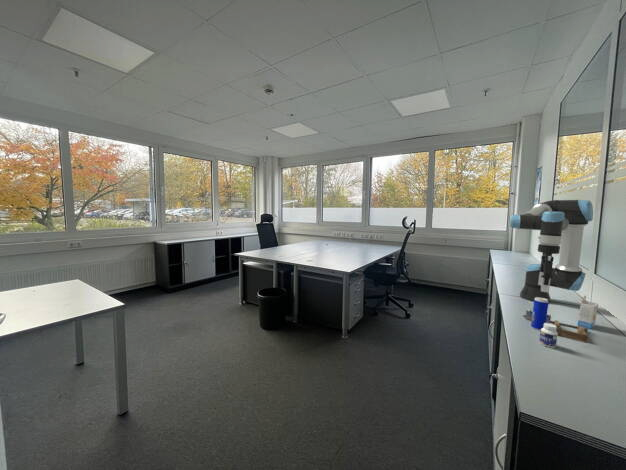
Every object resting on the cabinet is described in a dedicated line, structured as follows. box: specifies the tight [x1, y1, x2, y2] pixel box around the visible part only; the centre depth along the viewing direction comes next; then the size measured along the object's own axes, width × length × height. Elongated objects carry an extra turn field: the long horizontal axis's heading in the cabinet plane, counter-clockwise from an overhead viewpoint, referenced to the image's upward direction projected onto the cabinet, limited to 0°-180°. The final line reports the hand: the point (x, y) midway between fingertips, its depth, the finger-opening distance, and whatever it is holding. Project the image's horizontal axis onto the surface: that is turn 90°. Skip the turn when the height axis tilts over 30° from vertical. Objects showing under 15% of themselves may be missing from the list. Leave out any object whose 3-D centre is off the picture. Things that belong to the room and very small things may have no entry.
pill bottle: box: [538, 323, 559, 349], centre depth 108 cm, size 5×5×9 cm
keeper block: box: [522, 314, 589, 343], centre depth 124 cm, size 17×23×3 cm
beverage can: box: [530, 297, 550, 332], centre depth 124 cm, size 5×5×15 cm
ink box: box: [577, 294, 599, 330], centre depth 129 cm, size 8×5×15 cm, turn 124°
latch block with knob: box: [524, 308, 552, 324], centre depth 132 cm, size 2×10×5 cm, turn 52°
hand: (543, 288), depth 122 cm, fingers open, 13 cm apart
